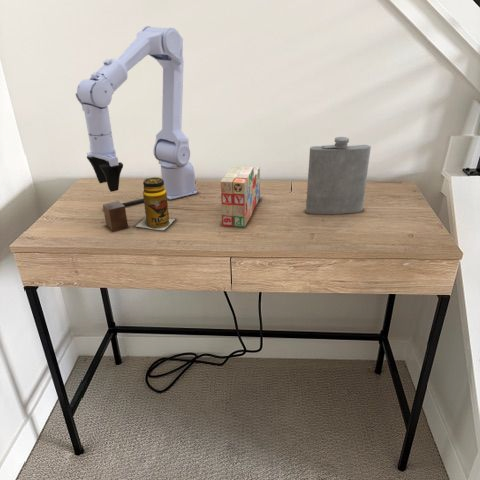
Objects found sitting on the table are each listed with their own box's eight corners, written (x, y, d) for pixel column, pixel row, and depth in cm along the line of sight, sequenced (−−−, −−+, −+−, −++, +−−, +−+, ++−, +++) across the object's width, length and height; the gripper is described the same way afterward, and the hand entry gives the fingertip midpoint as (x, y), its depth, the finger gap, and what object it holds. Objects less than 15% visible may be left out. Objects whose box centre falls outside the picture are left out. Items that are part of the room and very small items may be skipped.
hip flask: (360, 207, 144) (370, 134, 132) (364, 213, 140) (374, 139, 129) (304, 209, 143) (309, 136, 131) (307, 215, 140) (312, 140, 128)
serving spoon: (152, 196, 152) (151, 193, 152) (158, 201, 149) (158, 198, 149) (102, 208, 145) (101, 205, 145) (108, 213, 142) (107, 210, 142)
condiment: (164, 230, 132) (159, 186, 125) (135, 227, 134) (128, 183, 128) (175, 220, 138) (171, 176, 131) (147, 216, 140) (141, 173, 133)
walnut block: (121, 222, 137) (118, 200, 134) (128, 227, 134) (125, 206, 131) (106, 225, 135) (102, 204, 132) (112, 231, 132) (108, 209, 129)
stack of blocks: (239, 196, 152) (239, 155, 145) (260, 198, 150) (260, 156, 143) (221, 225, 134) (220, 180, 127) (244, 227, 133) (244, 182, 126)
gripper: (74, 129, 129) (84, 181, 136) (94, 142, 119) (104, 197, 126) (101, 125, 132) (109, 176, 139) (122, 137, 122) (130, 192, 129)
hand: (108, 186), depth 133 cm, fingers open, 7 cm apart
